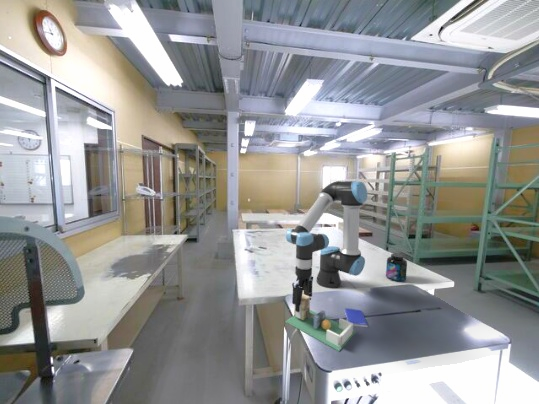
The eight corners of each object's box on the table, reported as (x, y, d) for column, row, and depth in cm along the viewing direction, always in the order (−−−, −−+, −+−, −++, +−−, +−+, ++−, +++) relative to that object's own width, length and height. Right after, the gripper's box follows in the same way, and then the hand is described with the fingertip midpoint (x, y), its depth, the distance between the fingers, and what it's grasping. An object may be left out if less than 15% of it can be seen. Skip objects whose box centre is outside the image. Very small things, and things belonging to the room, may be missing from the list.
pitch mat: (305, 308, 116) (305, 307, 116) (356, 332, 98) (356, 331, 98) (285, 322, 104) (285, 321, 104) (338, 351, 87) (339, 350, 86)
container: (386, 280, 152) (388, 255, 151) (384, 275, 163) (386, 251, 163) (407, 284, 147) (409, 258, 147) (404, 277, 159) (405, 254, 158)
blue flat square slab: (367, 325, 102) (361, 310, 114) (348, 322, 103) (344, 308, 115) (367, 328, 102) (361, 313, 114) (348, 326, 103) (344, 311, 115)
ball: (324, 325, 102) (324, 316, 102) (332, 329, 99) (332, 320, 99) (319, 329, 99) (319, 320, 99) (327, 333, 96) (328, 324, 96)
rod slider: (301, 311, 112) (302, 292, 111) (324, 322, 103) (325, 301, 103) (293, 316, 107) (293, 297, 106) (316, 329, 98) (317, 307, 97)
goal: (339, 326, 101) (340, 317, 101) (353, 332, 97) (353, 323, 97) (326, 339, 92) (326, 330, 92) (340, 347, 88) (340, 337, 88)
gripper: (308, 260, 115) (306, 304, 117) (284, 269, 101) (283, 319, 104) (321, 264, 109) (319, 310, 111) (298, 274, 96) (296, 327, 98)
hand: (301, 314), depth 107 cm, fingers closed on rod slider, 5 cm apart
